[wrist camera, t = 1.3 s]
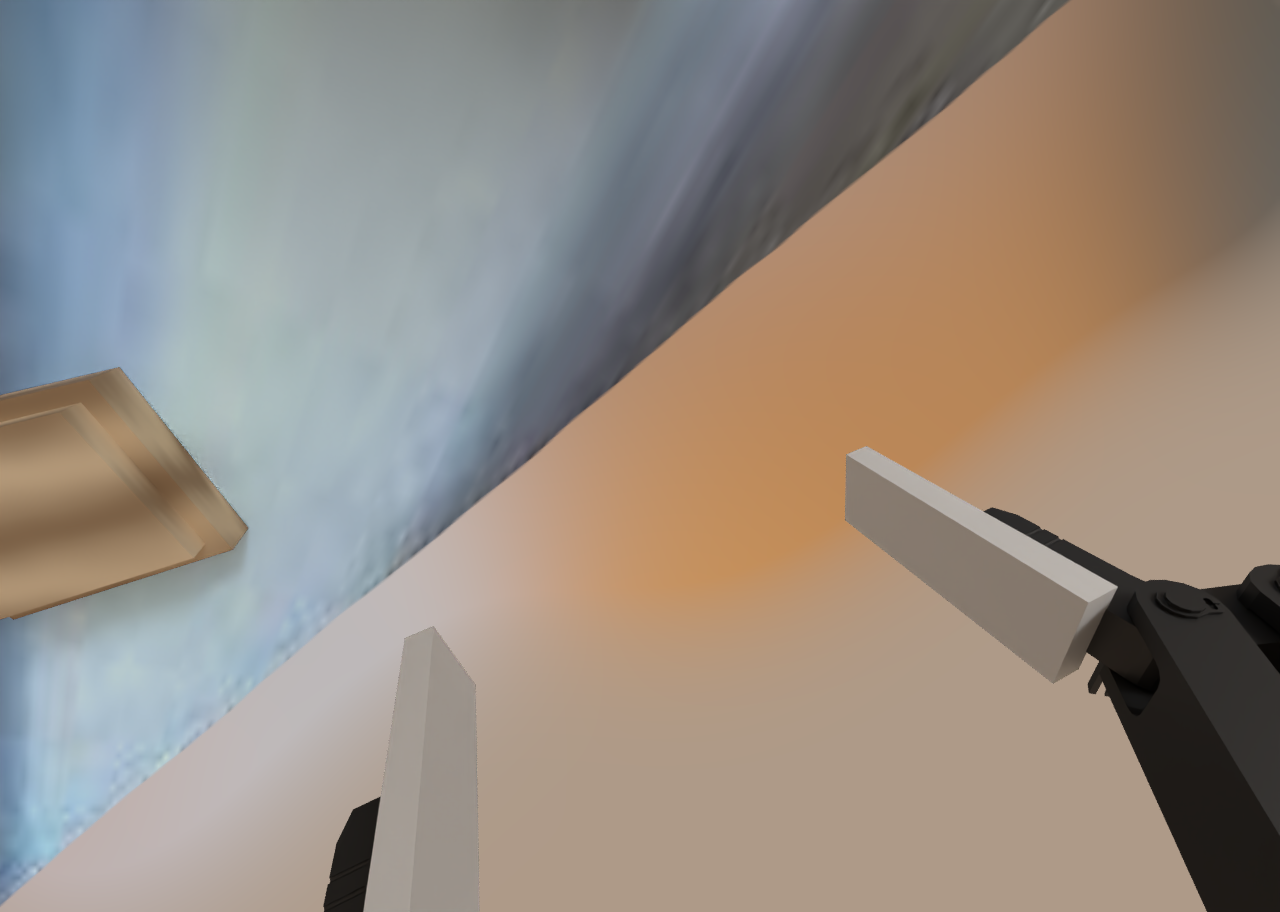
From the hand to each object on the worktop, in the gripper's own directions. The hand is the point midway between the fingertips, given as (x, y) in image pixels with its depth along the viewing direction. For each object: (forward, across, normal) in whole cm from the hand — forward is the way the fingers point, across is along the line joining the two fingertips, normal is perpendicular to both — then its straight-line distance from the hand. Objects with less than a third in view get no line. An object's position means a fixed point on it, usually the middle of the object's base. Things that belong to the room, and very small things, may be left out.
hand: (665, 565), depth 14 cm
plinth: (+24, -29, +2) cm, 38 cm away
